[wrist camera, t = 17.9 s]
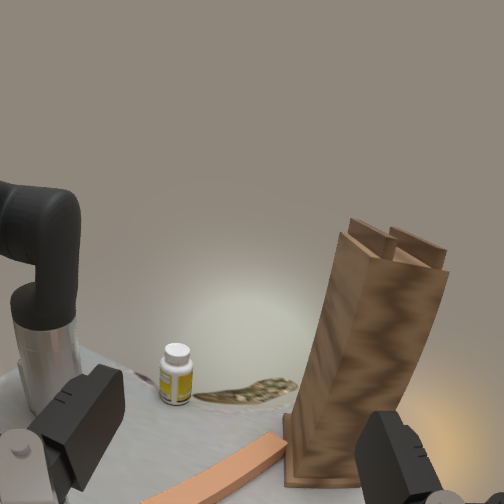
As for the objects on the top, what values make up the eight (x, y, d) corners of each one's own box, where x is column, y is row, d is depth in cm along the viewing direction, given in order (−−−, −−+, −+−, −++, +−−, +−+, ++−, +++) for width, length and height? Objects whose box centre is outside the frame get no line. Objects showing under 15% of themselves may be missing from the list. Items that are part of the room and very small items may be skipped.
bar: (142, 514, 25) (140, 502, 25) (265, 445, 42) (270, 430, 41) (160, 534, 23) (158, 523, 22) (283, 457, 39) (288, 442, 38)
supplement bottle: (192, 388, 52) (196, 343, 50) (189, 408, 47) (193, 361, 44) (162, 383, 51) (163, 338, 49) (156, 403, 46) (157, 355, 44)
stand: (284, 486, 33) (368, 234, 25) (282, 418, 48) (334, 214, 40) (360, 487, 33) (467, 256, 25) (343, 422, 48) (408, 229, 40)
